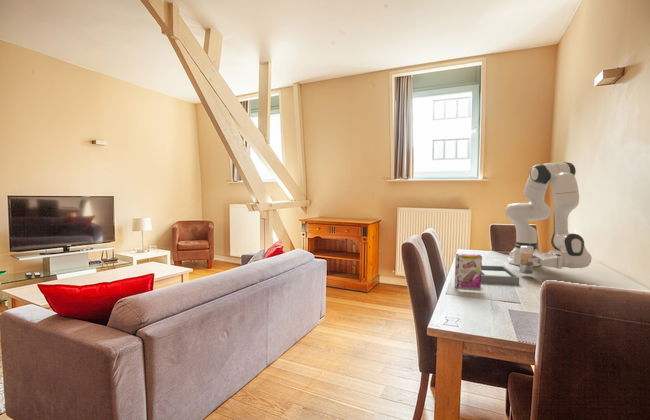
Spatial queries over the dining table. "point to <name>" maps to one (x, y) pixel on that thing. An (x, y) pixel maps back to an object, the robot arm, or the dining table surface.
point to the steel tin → (524, 254)
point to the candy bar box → (468, 270)
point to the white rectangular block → (494, 273)
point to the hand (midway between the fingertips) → (524, 258)
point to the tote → (499, 279)
